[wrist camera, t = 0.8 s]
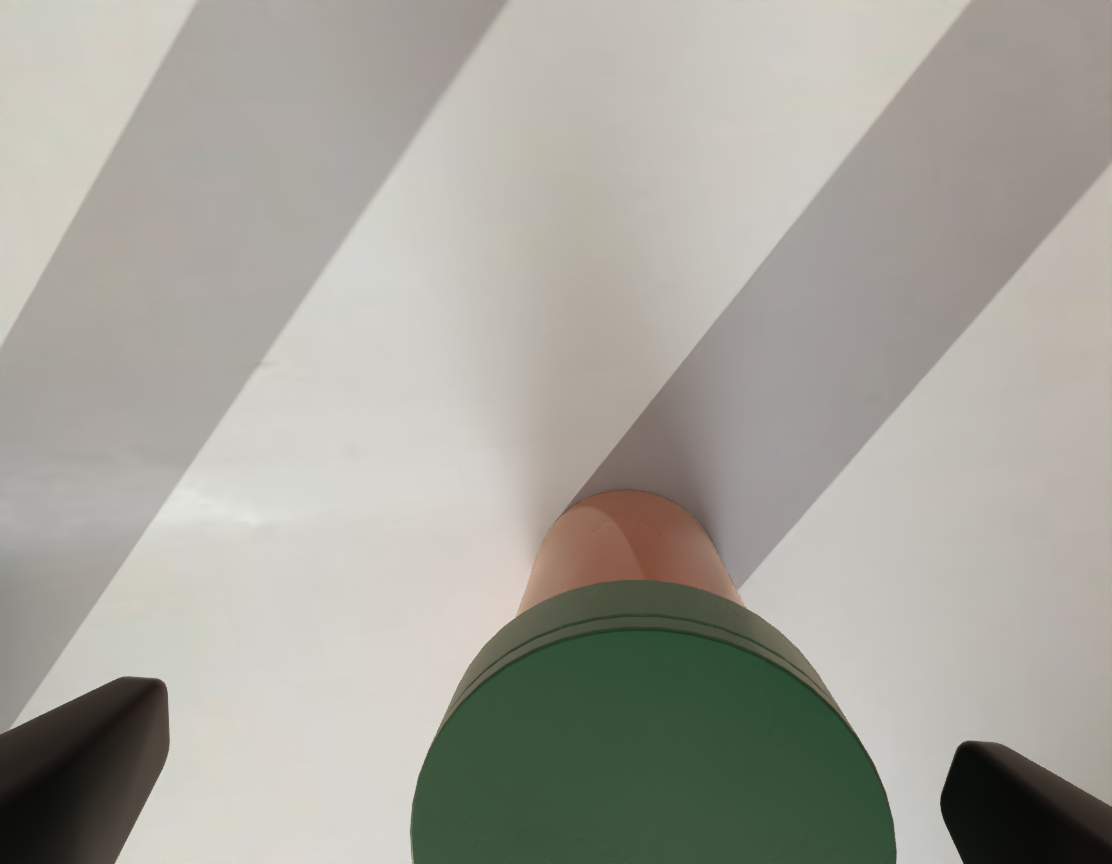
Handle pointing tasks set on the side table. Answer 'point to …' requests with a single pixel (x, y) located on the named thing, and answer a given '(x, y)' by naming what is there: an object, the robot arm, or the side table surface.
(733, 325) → the side table surface
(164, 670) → the side table surface
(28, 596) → the side table surface
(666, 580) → the jar
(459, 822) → the green cylinder
